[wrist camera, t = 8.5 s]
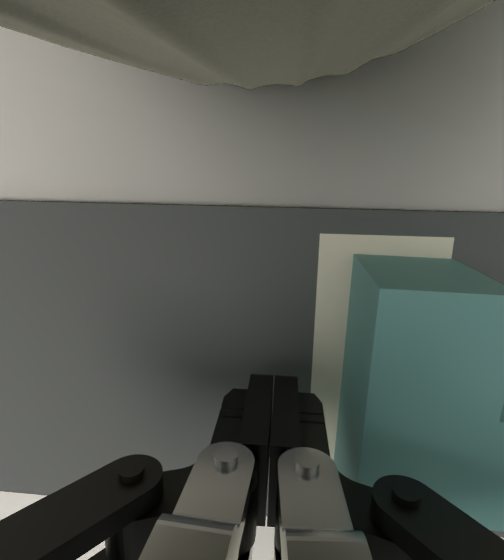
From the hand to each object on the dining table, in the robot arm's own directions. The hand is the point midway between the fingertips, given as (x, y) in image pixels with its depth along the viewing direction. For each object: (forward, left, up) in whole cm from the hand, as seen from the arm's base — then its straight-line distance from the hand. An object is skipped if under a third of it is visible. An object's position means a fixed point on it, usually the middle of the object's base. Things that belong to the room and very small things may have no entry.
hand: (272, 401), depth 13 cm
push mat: (0, -1, -2) cm, 2 cm away
